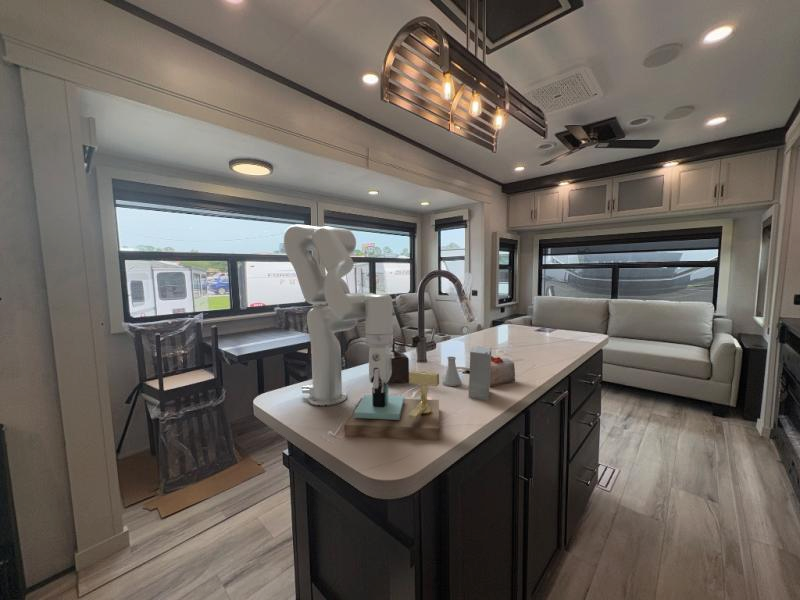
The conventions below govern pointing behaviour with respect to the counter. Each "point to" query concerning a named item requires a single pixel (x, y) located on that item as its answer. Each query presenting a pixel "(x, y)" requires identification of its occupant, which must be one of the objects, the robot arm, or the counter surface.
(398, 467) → the counter surface
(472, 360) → the skincare box
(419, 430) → the base
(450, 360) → the flask
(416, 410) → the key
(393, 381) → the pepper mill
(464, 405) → the counter surface
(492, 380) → the food item
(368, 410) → the cover
